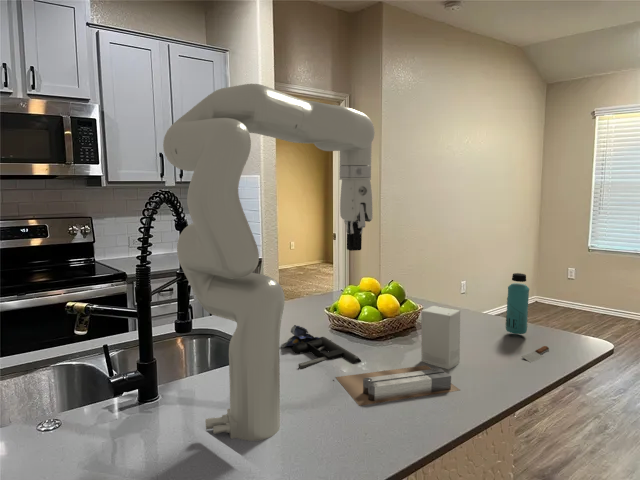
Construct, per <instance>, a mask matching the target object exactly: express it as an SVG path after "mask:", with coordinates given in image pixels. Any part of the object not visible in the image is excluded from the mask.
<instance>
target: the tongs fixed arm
mask: <svg viewBox="0 0 640 480" xmlns="http://www.w3.org/2000/svg"><path fill="white" fill-rule="evenodd" d="M451 383H452V375H451V374H449V373H448V372H446V371H445V373H438V374H431V375H426V376H418V377H411V378H404V379H397V380H390V381H382V382H375V383H369V384H368V400H370V401H377V400H384V399H391V398H397V397H404V396H410V395H417V394H423V393H430V392H437V391H444V390H451Z"/></svg>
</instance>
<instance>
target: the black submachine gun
mask: <svg viewBox="0 0 640 480" xmlns="http://www.w3.org/2000/svg"><path fill="white" fill-rule="evenodd" d="M291 348H292V352H293V353H294V354H297V355H298V354H304V353H307V352H309V353H311V354H312V355H313V354H314V356H315V357H316V356H317V357H316V358H315V359H310V360H307V361H304V362H299V363H298V369H299V368H300V370H304V369H307V368H309V367H312V366H314V365H317V364H319V363H322V362H324V361H327V360H328V361H329V360H331V361H332V360H334V359H340V358H343V359H345V360H346V361H347V362H349V363H352V364H359V363H362V359H360V357H359V356H357V355H356V354H354V353H352V352H350V351H349V350H348V349H346V348H344V347H342V346H340V345H339V344H337V343H335V342H333V340H332V339H329V338H327V337H325V336H320V337H319V339H317V340H313V341H309V342H305V343H301V344H297V345H294V346H292V347H291ZM323 349H324V350H325V351H327V352H323V351H321V350H323Z"/></svg>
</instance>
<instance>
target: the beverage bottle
mask: <svg viewBox="0 0 640 480" xmlns="http://www.w3.org/2000/svg"><path fill="white" fill-rule="evenodd" d="M511 277H512V278H511V281H513V282H514V283H511V284H509V285H508V286H507V298H506V300H507V301H506V316H505V326H504V327H505V330H506V332H508V333H511V334H515V335H524V334H526V333H527V332H528V318H529V314H528V313H529V296H530V295H529V294H530V288H529V286H527V285H526V284H525V283H523V282H527V275H526V274H525V273H521V272H520V273H519V272H517V273H513V274H512V276H511ZM516 282H517V283H516ZM518 282H520V283H518Z"/></svg>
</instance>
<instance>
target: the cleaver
mask: <svg viewBox="0 0 640 480" xmlns="http://www.w3.org/2000/svg"><path fill="white" fill-rule="evenodd" d="M548 351H550V348H549V347H548V346H547V345H542V346H541V347H540V348H537V349H535V350H534V351H532V352H530V353H527V354H524V355H521V358H523V359H524V360H526V361H527V362H529V363H533V362H536V361H538V360H541V359H542V358H544V357H545V356H544V355H542V354H545V353H546V352H548Z"/></svg>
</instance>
